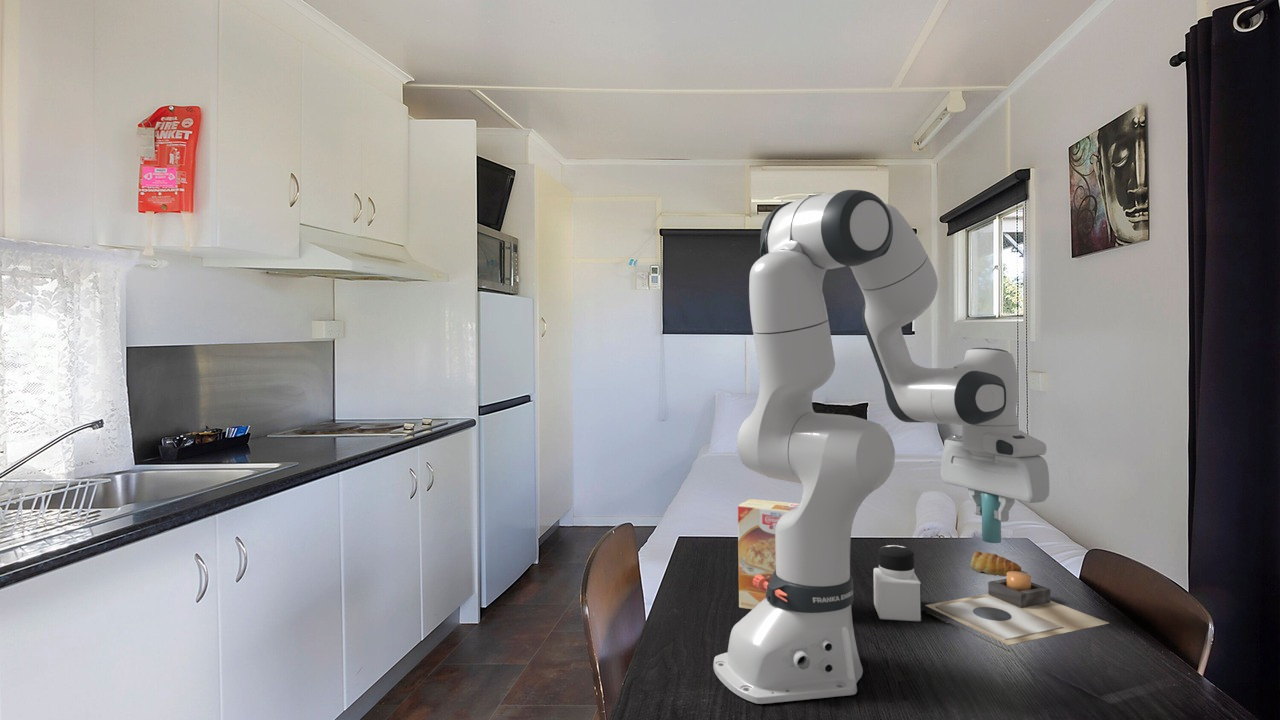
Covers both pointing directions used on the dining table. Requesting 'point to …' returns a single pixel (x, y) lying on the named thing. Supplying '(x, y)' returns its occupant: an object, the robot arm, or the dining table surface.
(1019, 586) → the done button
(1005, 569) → the pastry
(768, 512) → the coffeecake box
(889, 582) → the medicine bottle
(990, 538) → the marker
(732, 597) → the dining table surface
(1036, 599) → the beige board with holder
